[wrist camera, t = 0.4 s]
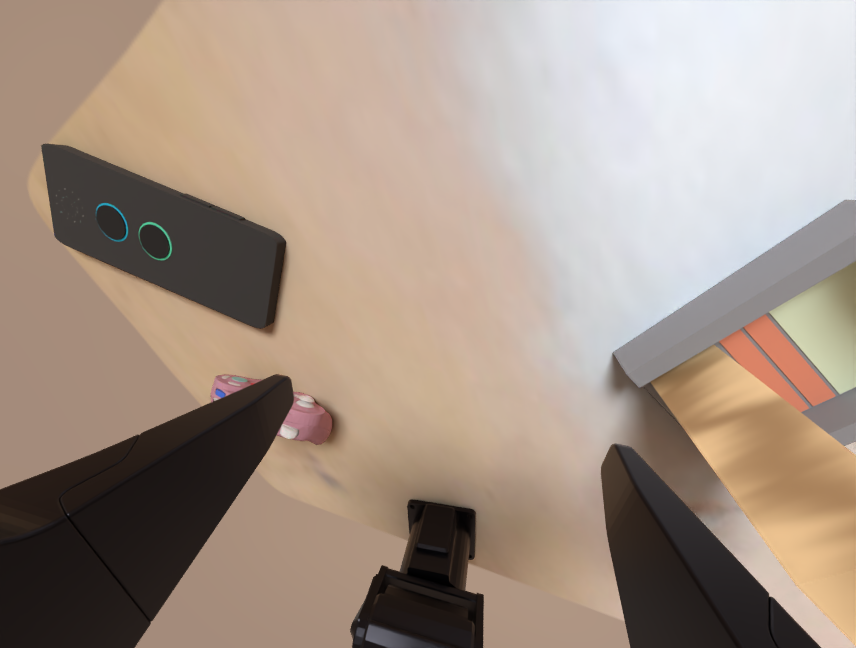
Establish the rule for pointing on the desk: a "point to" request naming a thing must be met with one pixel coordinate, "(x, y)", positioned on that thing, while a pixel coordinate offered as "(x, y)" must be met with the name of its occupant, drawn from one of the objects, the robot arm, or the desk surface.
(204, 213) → the smart home device
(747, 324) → the rail box
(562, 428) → the desk surface
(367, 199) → the desk surface
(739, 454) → the oak slider
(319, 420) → the video game controller
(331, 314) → the desk surface
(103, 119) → the desk surface
